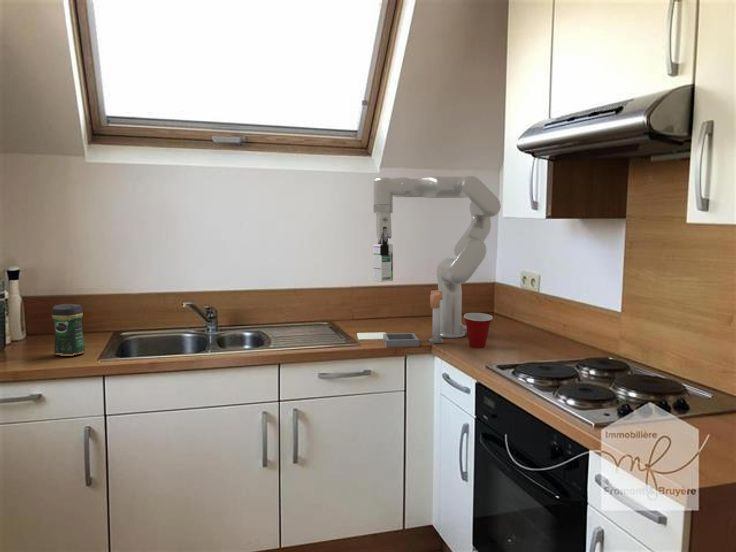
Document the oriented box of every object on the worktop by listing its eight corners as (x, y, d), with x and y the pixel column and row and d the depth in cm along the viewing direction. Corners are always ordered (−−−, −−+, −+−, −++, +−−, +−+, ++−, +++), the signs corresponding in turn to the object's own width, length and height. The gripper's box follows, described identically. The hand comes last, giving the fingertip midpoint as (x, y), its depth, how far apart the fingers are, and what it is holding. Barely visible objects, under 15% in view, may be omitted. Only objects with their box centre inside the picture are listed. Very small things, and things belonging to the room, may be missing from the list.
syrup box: (381, 281, 227) (381, 244, 226) (372, 280, 232) (372, 243, 231) (393, 281, 231) (393, 244, 229) (384, 279, 235) (384, 243, 234)
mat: (385, 333, 245) (385, 332, 245) (388, 339, 234) (388, 338, 234) (356, 333, 245) (356, 333, 245) (358, 340, 233) (358, 339, 233)
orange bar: (431, 298, 229) (431, 286, 228) (442, 298, 228) (442, 286, 227) (428, 308, 204) (428, 295, 204) (441, 308, 204) (441, 295, 203)
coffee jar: (89, 352, 214) (86, 302, 212) (74, 358, 207) (71, 306, 205) (65, 351, 216) (62, 302, 214) (50, 357, 208) (47, 305, 206)
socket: (439, 338, 234) (439, 298, 232) (445, 345, 222) (446, 302, 220) (383, 340, 233) (383, 299, 231) (386, 347, 220) (386, 304, 219)
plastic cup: (470, 351, 213) (471, 318, 212) (458, 344, 224) (458, 313, 222) (497, 349, 216) (498, 316, 215) (484, 342, 227) (484, 312, 225)
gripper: (396, 209, 220) (395, 256, 222) (389, 209, 237) (389, 253, 239) (376, 209, 219) (376, 256, 221) (370, 209, 237) (370, 253, 239)
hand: (382, 254), depth 230 cm, fingers closed on syrup box, 7 cm apart
